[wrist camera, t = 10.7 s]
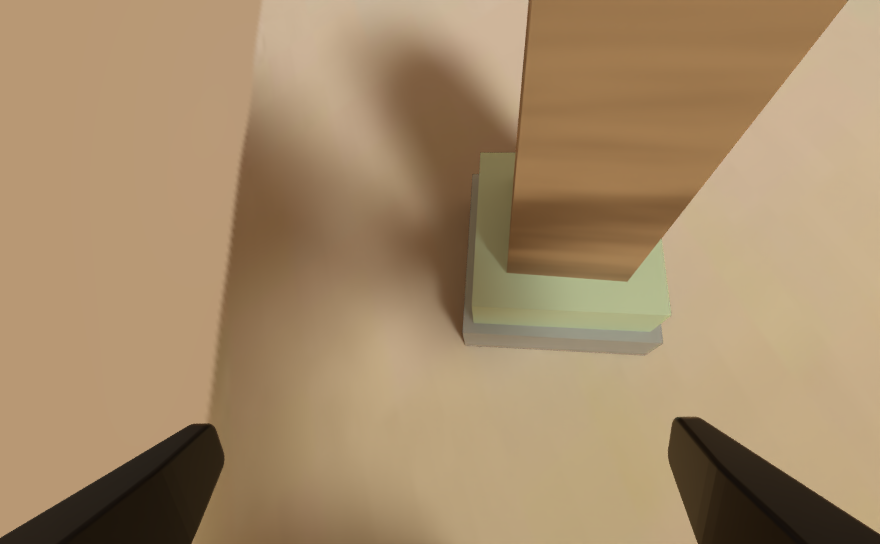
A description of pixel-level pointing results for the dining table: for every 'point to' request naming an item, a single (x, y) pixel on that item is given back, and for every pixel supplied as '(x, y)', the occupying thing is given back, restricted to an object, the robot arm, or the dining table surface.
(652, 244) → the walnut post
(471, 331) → the tower base slab
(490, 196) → the tower top slab
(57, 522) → the robot arm
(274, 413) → the dining table surface
